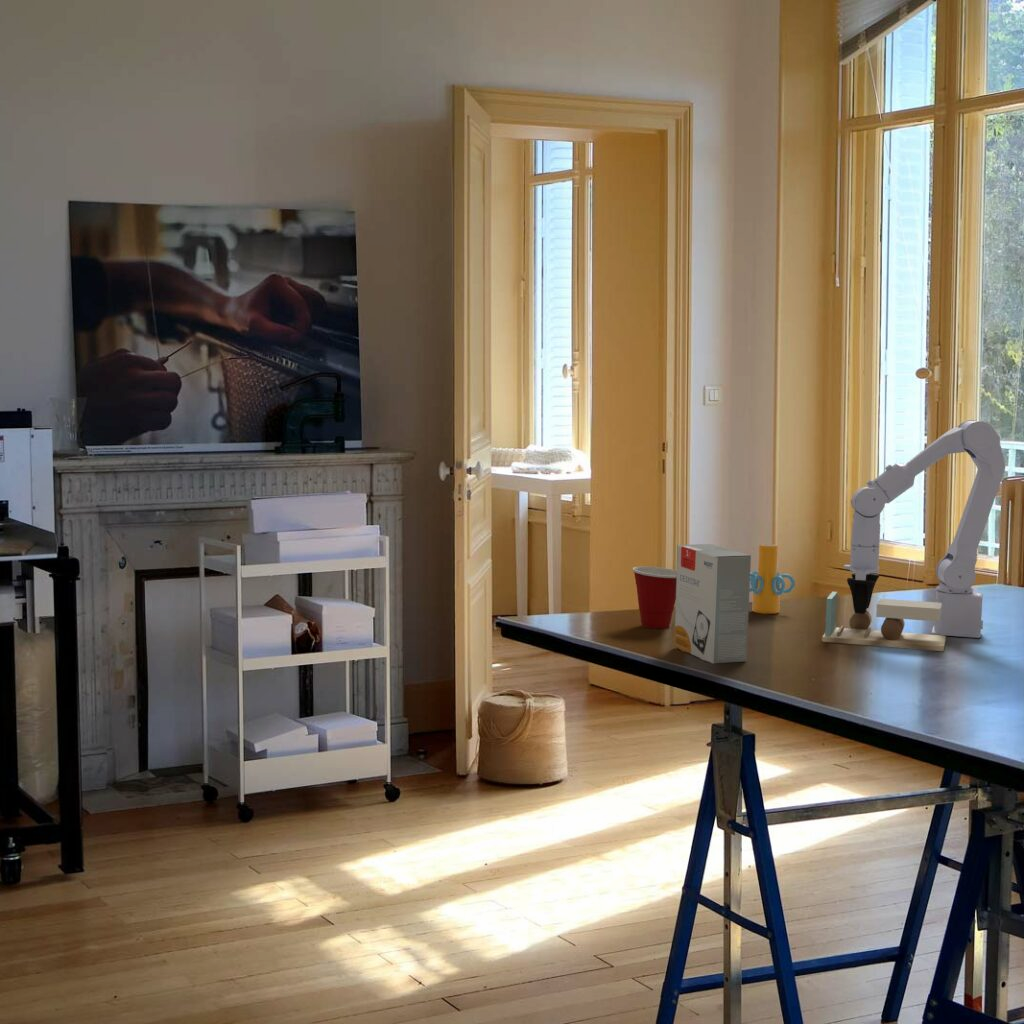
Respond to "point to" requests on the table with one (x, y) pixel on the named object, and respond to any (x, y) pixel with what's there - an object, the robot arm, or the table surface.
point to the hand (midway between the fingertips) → (861, 610)
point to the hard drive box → (712, 603)
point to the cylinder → (768, 582)
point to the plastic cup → (655, 595)
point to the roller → (860, 621)
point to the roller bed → (878, 633)
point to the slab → (909, 610)
